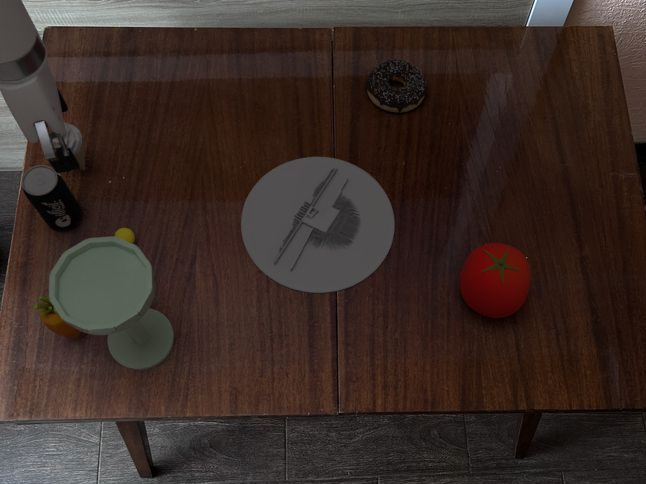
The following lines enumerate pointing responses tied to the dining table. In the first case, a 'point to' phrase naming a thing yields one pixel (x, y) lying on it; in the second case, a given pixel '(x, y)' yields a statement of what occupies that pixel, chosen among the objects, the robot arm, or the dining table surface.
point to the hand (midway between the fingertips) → (62, 140)
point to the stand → (143, 342)
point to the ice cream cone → (73, 143)
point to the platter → (102, 285)
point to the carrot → (54, 319)
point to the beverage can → (51, 197)
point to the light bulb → (125, 235)
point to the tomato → (495, 280)
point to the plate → (317, 224)
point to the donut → (396, 97)
